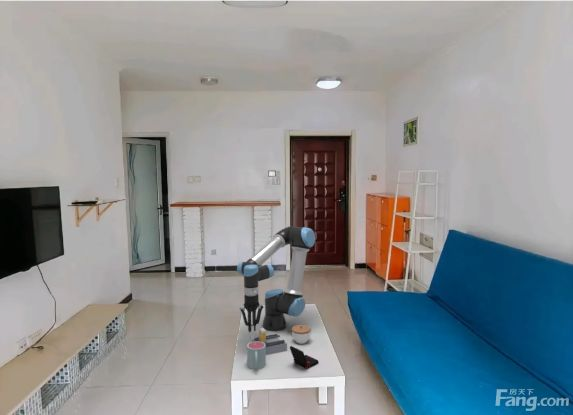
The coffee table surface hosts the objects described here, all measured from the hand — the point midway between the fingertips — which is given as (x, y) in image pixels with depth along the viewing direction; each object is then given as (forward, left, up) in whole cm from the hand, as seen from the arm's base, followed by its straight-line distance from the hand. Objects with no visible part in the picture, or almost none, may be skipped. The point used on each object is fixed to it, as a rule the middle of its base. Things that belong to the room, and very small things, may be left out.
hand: (252, 337), depth 198 cm
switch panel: (-10, 0, -8) cm, 13 cm away
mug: (+3, +16, -9) cm, 18 cm away
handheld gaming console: (-20, +23, -9) cm, 32 cm away
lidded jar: (-30, -1, -9) cm, 31 cm away
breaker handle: (-6, 0, -4) cm, 7 cm away
